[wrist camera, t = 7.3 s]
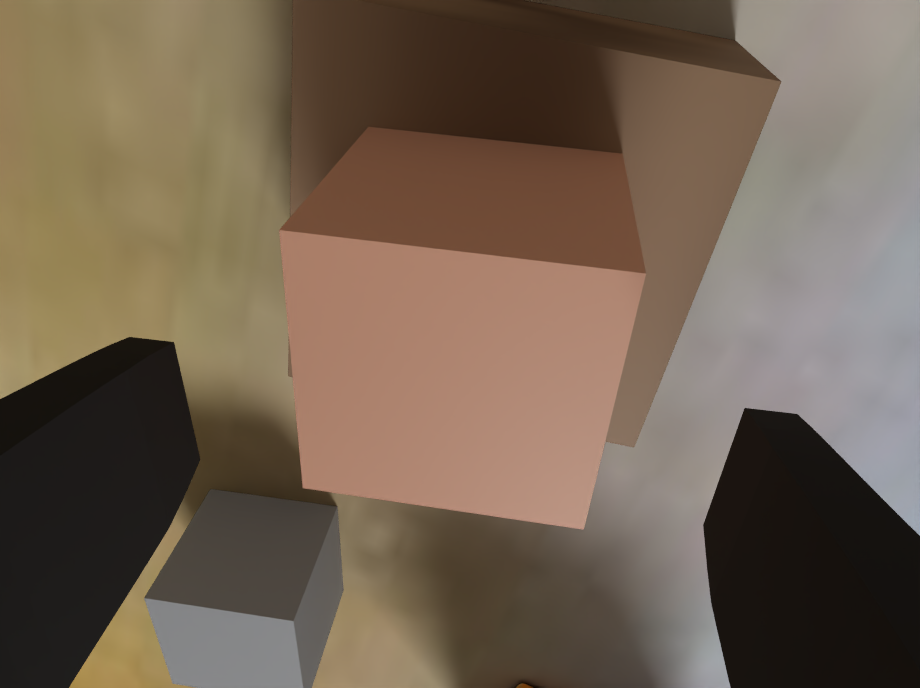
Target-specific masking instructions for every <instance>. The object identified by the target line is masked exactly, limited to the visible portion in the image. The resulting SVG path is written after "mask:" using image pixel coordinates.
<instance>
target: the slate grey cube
mask: <svg viewBox="0 0 920 688" xmlns="http://www.w3.org/2000/svg"><path fill="white" fill-rule="evenodd" d="M343 590H344V589H343V575H342V562H341V548H340V535H339V521H338V508H337V506H330V505H323V504H316V503H309V502H301V501H294V500H287V499H279V498H272V497H265V496H258V495H250V494H243V493H236V492H229V491H221V490H214V489H210V490H209V492H208V494H207V495H206V497H205V499H204V500H203V502H202V504H201V505H200V507H199V509H198V510H197V512H196V514H195V515H194V517H193V519H192V520H191V522H190V523H189V525H188V527H187V528H186V530H185V532H184V533H183V535H182V537H181V538H180V540H179V542H178V543H177V545H176V547H175V548H174V550H173V552H172V553H171V555H170V556H169V558H168V560H167V561H166V563H165V565H164V566H163V568H162V570H161V571H160V573H159V575H158V576H157V578H156V580H155V581H154V583H153V584H152V586H151V588H150V589H149V591H148V593H147V594H146V596H145V598H144V599H145V602H146V605H147V608H148V611H149V614H150V617H151V620H152V623H153V626H154V629H155V632H156V635H157V638H158V641H159V644H160V647H161V650H162V653H163V656H164V659H165V662H166V665H167V668H168V671H169V674H170V677H171V680H172V682H173V684H179V685H185V686H191V687H197V688H312V685H313V682H314V679H315V676H316V673H317V670H318V667H319V664H320V660H321V657H322V654H323V651H324V648H325V645H326V642H327V639H328V636H329V633H330V630H331V627H332V624H333V621H334V618H335V615H336V612H337V609H338V606H339V602H340V599H341V596H342V593H343Z"/></svg>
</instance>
